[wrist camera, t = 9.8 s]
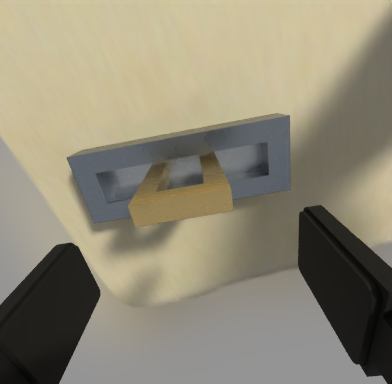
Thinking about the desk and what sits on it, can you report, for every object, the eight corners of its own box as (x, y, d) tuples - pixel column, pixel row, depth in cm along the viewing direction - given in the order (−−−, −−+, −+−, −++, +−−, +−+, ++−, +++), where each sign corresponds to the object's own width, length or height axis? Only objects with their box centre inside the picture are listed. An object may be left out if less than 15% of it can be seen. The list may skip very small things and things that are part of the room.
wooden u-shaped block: (215, 153, 22) (230, 187, 13) (217, 168, 22) (233, 210, 14) (151, 165, 22) (127, 206, 14) (155, 179, 23) (135, 227, 14)
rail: (276, 113, 21) (289, 115, 18) (278, 179, 24) (290, 189, 21) (81, 150, 22) (66, 157, 19) (105, 209, 25) (94, 223, 22)
